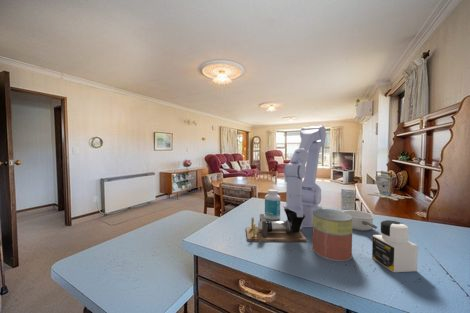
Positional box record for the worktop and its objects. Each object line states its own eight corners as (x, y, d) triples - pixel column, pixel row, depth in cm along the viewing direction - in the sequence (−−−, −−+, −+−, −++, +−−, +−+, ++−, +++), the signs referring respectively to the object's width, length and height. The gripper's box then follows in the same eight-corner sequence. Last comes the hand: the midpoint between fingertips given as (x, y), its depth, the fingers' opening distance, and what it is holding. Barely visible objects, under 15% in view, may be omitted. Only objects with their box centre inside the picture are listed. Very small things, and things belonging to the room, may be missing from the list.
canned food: (344, 245, 65) (345, 210, 65) (358, 263, 54) (359, 221, 54) (309, 241, 68) (310, 208, 67) (316, 258, 57) (317, 218, 56)
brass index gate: (254, 228, 77) (254, 216, 77) (256, 237, 69) (257, 224, 69) (250, 228, 77) (250, 216, 77) (251, 237, 69) (252, 224, 69)
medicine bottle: (371, 258, 57) (372, 218, 57) (393, 257, 58) (394, 218, 57) (393, 273, 50) (394, 227, 50) (418, 271, 51) (419, 227, 50)
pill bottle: (280, 221, 88) (280, 192, 87) (264, 220, 89) (264, 191, 89) (279, 215, 95) (280, 189, 95) (264, 214, 96) (265, 188, 96)
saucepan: (357, 240, 69) (357, 225, 69) (338, 221, 89) (338, 209, 88) (393, 243, 67) (393, 227, 67) (365, 223, 86) (366, 210, 86)
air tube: (298, 230, 75) (298, 218, 75) (302, 235, 71) (302, 222, 70) (257, 229, 75) (257, 218, 75) (259, 234, 71) (259, 222, 71)
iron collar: (263, 228, 77) (263, 214, 77) (266, 237, 69) (266, 221, 69) (259, 228, 77) (259, 214, 77) (262, 237, 69) (262, 221, 69)
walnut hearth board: (296, 229, 78) (296, 227, 78) (306, 241, 67) (306, 239, 67) (246, 228, 78) (246, 226, 78) (247, 241, 67) (247, 238, 67)
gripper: (279, 190, 80) (278, 222, 80) (288, 198, 65) (288, 238, 66) (296, 190, 80) (295, 222, 80) (309, 199, 65) (308, 238, 66)
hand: (293, 229), depth 73 cm, fingers closed on air tube, 4 cm apart
